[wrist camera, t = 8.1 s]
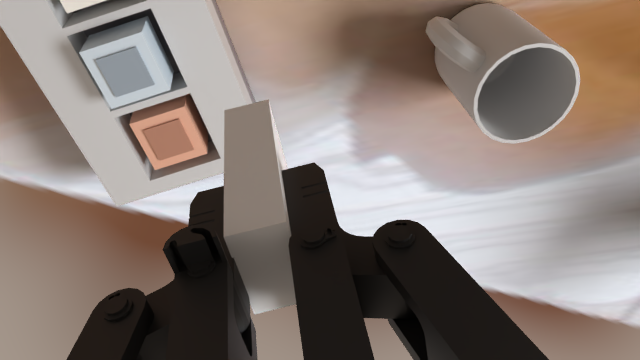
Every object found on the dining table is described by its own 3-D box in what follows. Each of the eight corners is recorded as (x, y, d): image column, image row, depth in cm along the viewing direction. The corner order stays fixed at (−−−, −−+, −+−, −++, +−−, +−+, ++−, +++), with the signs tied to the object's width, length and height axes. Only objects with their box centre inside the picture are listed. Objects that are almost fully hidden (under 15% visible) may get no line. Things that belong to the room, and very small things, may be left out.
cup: (481, 102, 47) (528, 158, 39) (386, 48, 43) (418, 99, 35) (539, 28, 44) (602, 74, 36) (442, -37, 40) (491, 0, 32)
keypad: (-26, -85, 34) (-61, -69, 30) (157, -148, 34) (147, -141, 30) (126, 170, 46) (116, 206, 42) (265, 126, 45) (268, 158, 41)
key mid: (89, 35, 36) (78, 53, 33) (147, 15, 36) (141, 32, 33) (118, 89, 38) (110, 110, 35) (173, 71, 38) (170, 91, 35)
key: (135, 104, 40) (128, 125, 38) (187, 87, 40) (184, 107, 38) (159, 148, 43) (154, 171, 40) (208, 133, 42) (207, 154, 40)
